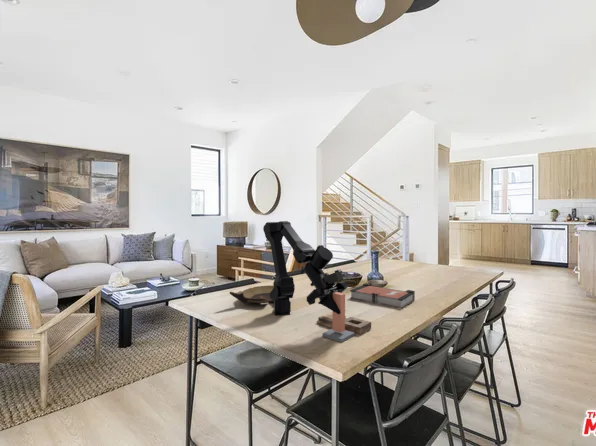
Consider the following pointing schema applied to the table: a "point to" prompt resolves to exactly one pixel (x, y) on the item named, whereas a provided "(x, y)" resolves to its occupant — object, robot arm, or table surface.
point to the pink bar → (339, 319)
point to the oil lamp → (254, 294)
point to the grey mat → (338, 335)
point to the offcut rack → (346, 323)
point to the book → (383, 295)
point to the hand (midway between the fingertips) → (342, 312)
